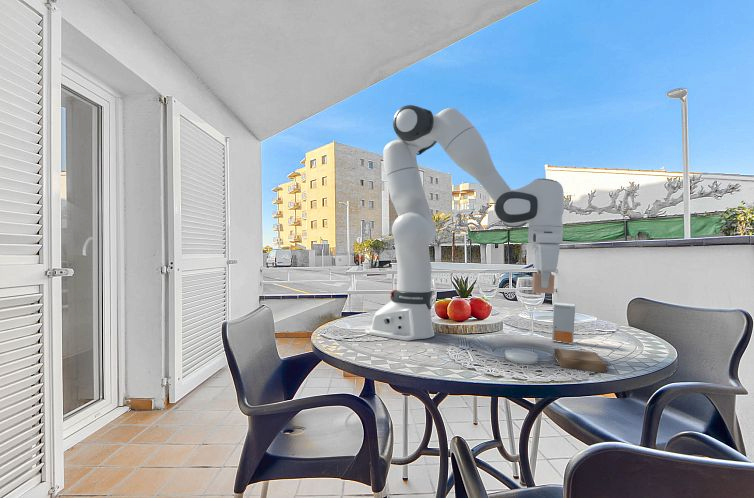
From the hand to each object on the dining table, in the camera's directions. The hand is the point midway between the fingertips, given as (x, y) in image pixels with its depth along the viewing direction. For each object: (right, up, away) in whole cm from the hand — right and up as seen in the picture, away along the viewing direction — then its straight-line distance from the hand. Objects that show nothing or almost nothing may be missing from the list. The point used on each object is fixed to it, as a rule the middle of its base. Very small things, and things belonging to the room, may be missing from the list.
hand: (542, 286), depth 105 cm
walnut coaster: (+5, -19, -10) cm, 22 cm away
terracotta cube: (0, -2, 0) cm, 2 cm away
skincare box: (+11, -19, +11) cm, 25 cm away
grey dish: (-9, -18, -8) cm, 22 cm away
